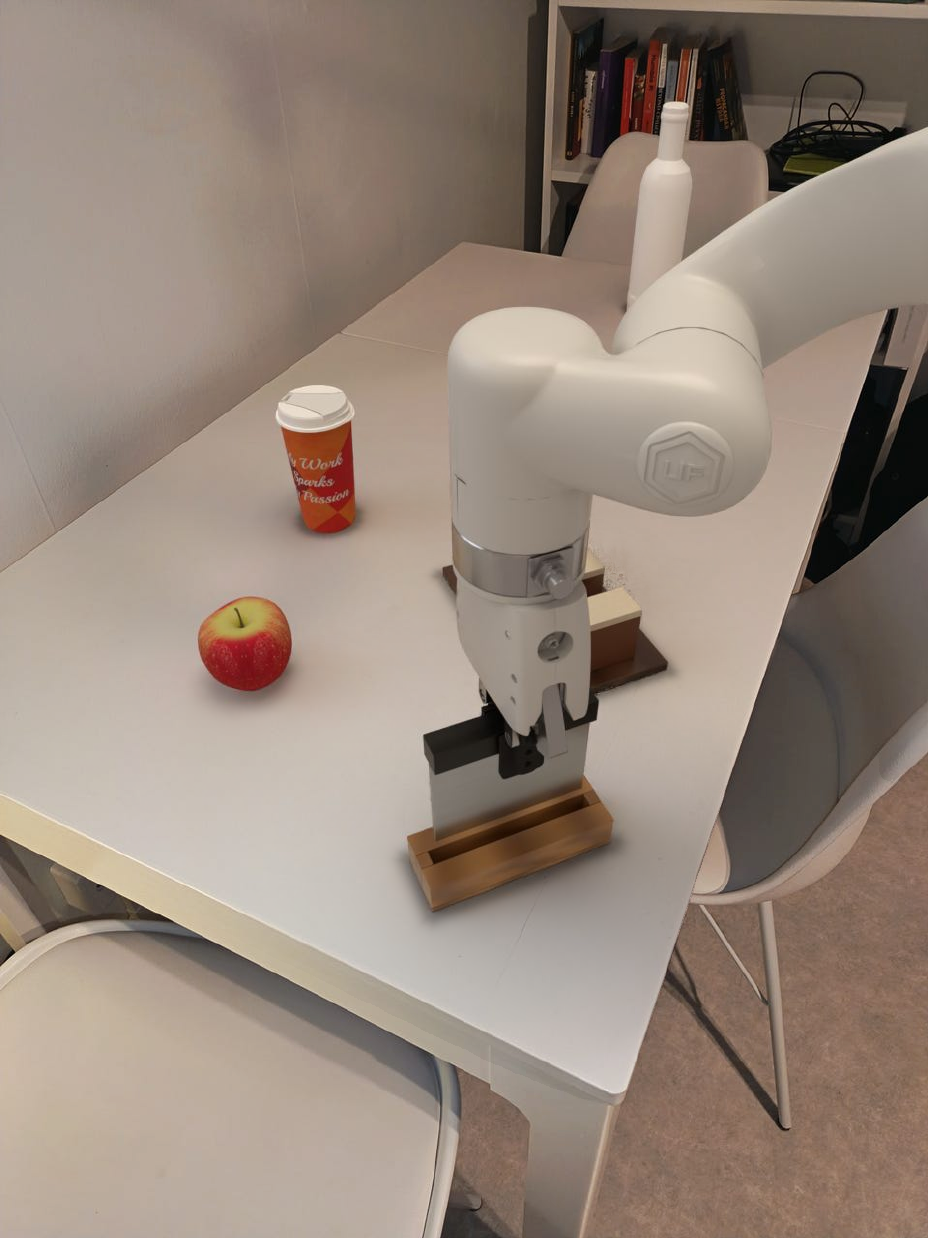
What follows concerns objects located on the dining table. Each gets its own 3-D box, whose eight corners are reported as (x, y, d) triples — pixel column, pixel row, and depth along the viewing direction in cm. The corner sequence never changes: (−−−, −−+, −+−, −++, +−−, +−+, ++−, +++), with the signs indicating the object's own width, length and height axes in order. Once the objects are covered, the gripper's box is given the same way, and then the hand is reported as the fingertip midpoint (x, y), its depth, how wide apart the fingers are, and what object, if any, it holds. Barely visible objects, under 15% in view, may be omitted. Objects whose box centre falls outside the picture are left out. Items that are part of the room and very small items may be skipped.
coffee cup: (282, 532, 101) (259, 414, 91) (312, 493, 107) (294, 378, 97) (350, 544, 99) (335, 424, 89) (376, 504, 105) (365, 387, 95)
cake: (558, 542, 99) (562, 488, 94) (667, 669, 83) (677, 613, 79) (442, 574, 95) (440, 520, 90) (533, 714, 79) (536, 658, 75)
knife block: (579, 795, 73) (582, 772, 71) (610, 842, 69) (614, 819, 67) (408, 858, 68) (406, 835, 66) (432, 912, 65) (430, 890, 63)
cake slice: (616, 634, 86) (622, 586, 82) (635, 657, 83) (642, 609, 79) (532, 660, 83) (534, 612, 79) (549, 685, 81) (552, 637, 77)
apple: (210, 717, 80) (185, 635, 73) (208, 653, 86) (185, 573, 79) (302, 700, 81) (285, 618, 74) (293, 639, 87) (277, 559, 81)
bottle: (679, 305, 147) (709, 99, 127) (669, 323, 141) (699, 112, 121) (632, 298, 149) (654, 96, 129) (620, 316, 144) (641, 108, 124)
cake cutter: (574, 776, 68) (585, 681, 61) (587, 796, 66) (599, 700, 60) (429, 829, 64) (422, 734, 58) (439, 851, 63) (433, 756, 56)
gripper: (655, 610, 45) (618, 826, 57) (518, 457, 56) (512, 666, 68) (520, 651, 42) (512, 866, 55) (406, 484, 53) (420, 694, 66)
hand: (512, 754), depth 61 cm, fingers closed on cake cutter, 2 cm apart
